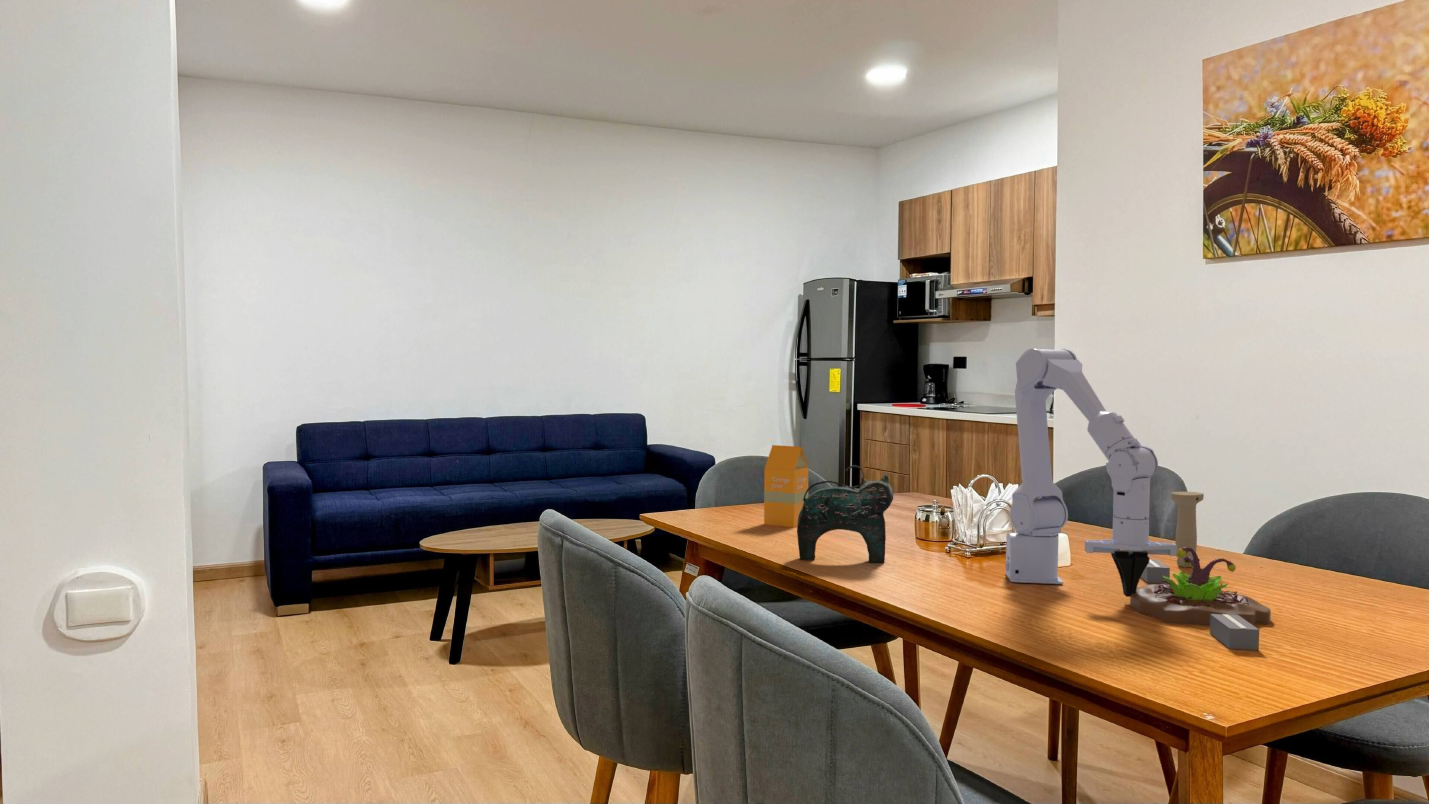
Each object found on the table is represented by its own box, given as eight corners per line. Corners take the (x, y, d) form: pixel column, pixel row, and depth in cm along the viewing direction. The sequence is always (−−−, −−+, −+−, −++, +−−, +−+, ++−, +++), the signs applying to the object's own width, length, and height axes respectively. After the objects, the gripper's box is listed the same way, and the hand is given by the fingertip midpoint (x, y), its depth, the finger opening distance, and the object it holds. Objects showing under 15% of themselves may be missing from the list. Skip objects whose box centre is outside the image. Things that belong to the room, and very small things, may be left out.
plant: (1110, 598, 170) (1112, 535, 169) (1220, 598, 170) (1222, 536, 169) (1163, 629, 150) (1165, 558, 149) (1287, 630, 150) (1290, 559, 149)
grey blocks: (1229, 648, 139) (1229, 627, 138) (1135, 573, 188) (1135, 557, 188) (1258, 650, 138) (1259, 629, 138) (1156, 574, 187) (1157, 558, 187)
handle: (1206, 567, 194) (1208, 494, 193) (1184, 570, 191) (1185, 495, 191) (1186, 562, 198) (1188, 491, 198) (1164, 565, 196) (1165, 492, 195)
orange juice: (794, 527, 238) (794, 448, 238) (763, 524, 243) (764, 446, 242) (808, 523, 245) (809, 445, 244) (778, 520, 250) (779, 444, 249)
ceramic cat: (892, 559, 201) (893, 464, 200) (893, 565, 194) (894, 468, 193) (798, 555, 204) (798, 462, 203) (795, 562, 198) (796, 465, 197)
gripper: (1091, 519, 161) (1090, 599, 162) (1183, 522, 159) (1181, 602, 159) (1082, 513, 168) (1081, 589, 169) (1170, 515, 166) (1168, 592, 166)
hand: (1129, 595), depth 164 cm, fingers closed
